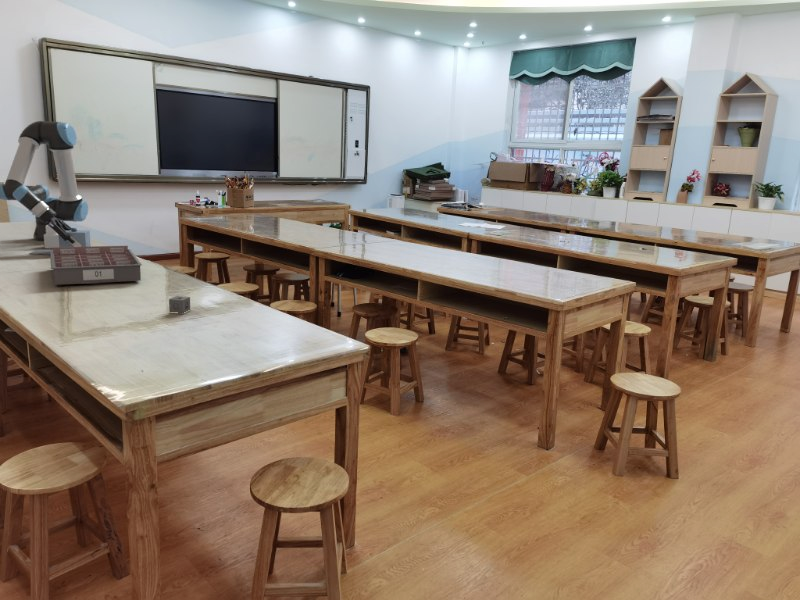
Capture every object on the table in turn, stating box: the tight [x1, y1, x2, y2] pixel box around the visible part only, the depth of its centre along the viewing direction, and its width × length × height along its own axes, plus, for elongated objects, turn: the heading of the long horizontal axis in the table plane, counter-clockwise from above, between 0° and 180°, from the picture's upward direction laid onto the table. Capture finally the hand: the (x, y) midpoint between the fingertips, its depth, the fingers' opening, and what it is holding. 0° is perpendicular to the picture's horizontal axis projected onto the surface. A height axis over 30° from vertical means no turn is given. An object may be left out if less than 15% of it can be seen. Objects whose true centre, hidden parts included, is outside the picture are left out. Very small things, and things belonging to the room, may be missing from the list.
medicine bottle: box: [43, 225, 59, 249], centre depth 313 cm, size 7×7×12 cm
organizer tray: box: [49, 245, 143, 286], centre depth 253 cm, size 32×40×10 cm
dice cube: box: [168, 295, 191, 313], centre depth 207 cm, size 5×5×5 cm
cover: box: [58, 227, 92, 247], centre depth 300 cm, size 8×12×13 cm, turn 102°
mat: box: [28, 249, 53, 256], centre depth 299 cm, size 12×10×1 cm
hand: (82, 246), depth 302 cm, fingers closed on cover, 8 cm apart
